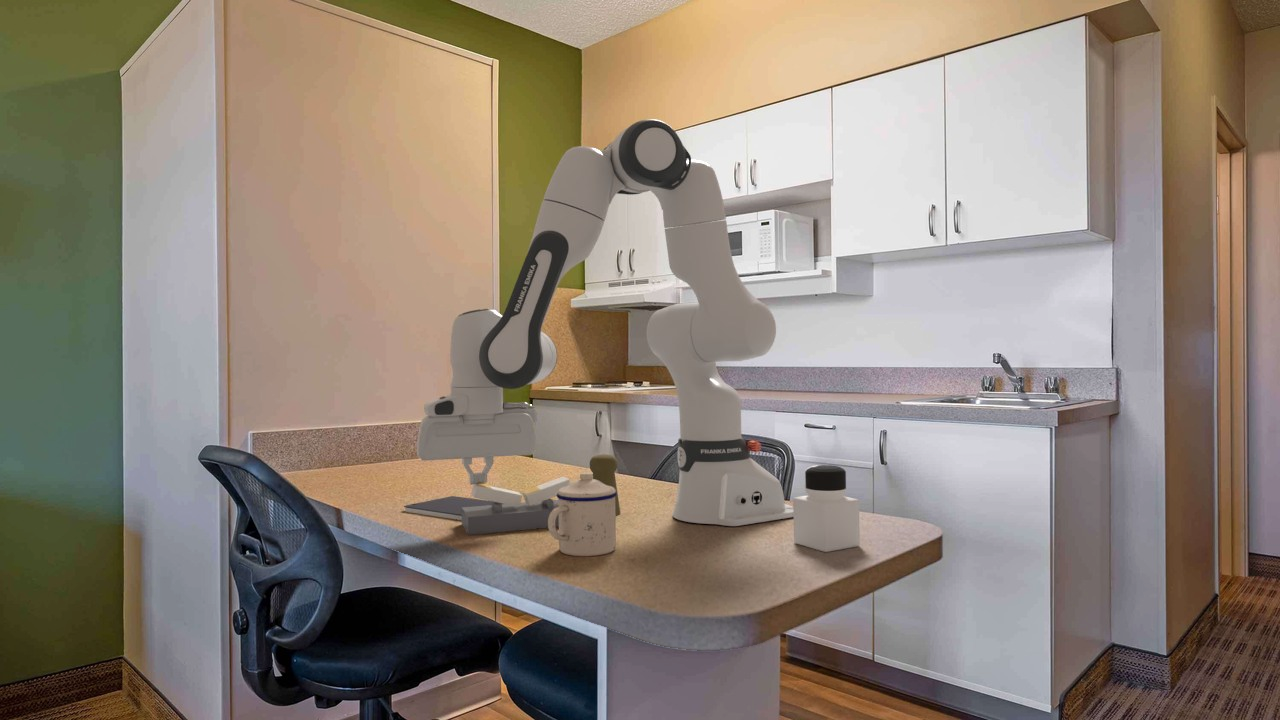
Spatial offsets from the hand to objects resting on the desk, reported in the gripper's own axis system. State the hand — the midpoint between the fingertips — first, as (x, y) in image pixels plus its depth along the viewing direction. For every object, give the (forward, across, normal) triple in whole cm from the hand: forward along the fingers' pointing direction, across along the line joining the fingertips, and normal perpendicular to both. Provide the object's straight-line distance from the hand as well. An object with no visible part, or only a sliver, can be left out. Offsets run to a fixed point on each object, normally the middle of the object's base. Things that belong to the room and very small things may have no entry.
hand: (478, 483), depth 134 cm
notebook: (+8, 0, -17) cm, 19 cm away
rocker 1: (+2, -3, 0) cm, 4 cm away
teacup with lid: (+8, -12, +23) cm, 27 cm away
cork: (+8, -24, -3) cm, 25 cm away
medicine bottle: (+8, -48, +34) cm, 59 cm away
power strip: (+8, -11, 0) cm, 13 cm away
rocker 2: (+3, -12, 0) cm, 13 cm away
